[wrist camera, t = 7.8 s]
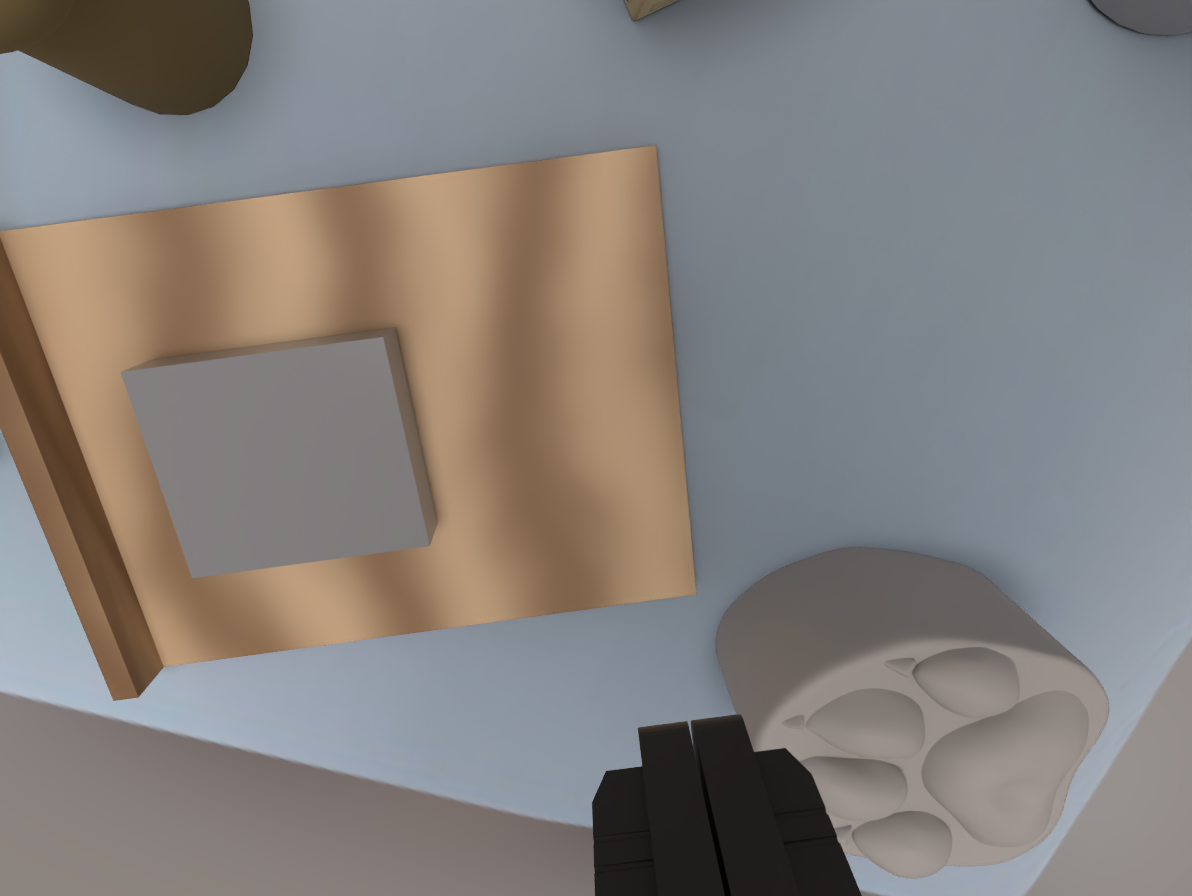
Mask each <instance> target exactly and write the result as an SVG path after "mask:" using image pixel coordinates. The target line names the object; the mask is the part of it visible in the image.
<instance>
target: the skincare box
mask: <svg viewBox="0 0 1192 896" xmlns="http://www.w3.org/2000/svg"><path fill="white" fill-rule="evenodd" d="M624 1H625V4H626V6H627V9H628V11H629V13H630V16H631V17H632V19H633V20H638V19H640V18H642V17H644V16H646V15H648V14H650V13H652V12H655V11H657V10H659V9H661V8H663V7H665V6H667V5H670V4H672V3H674V2H676V1H678V0H624Z"/></svg>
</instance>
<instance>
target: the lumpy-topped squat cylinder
mask: <svg viewBox="0 0 1192 896" xmlns="http://www.w3.org/2000/svg"><path fill="white" fill-rule="evenodd" d="M716 655H717V659H718V662H719V665H720V668H721V671H722V674H723V676H724V679H725V682H726V685H727V688H728V691H729V694H730V696H731V699H732V702H733V705H734V708H735V711H736V714H737V715H738V714H741V715H742V717H743V720H744V723H745V726H746V729H747V732H748V735H749V738H750V741H751V744H752V747H753V750H754V752H757V751H765V750H773V749H781V748H786V749H787V750H788V751H789V752H790V753H791V754H792V755H793V756H794V757H795V758H796V759H797V760H798V761H799V762H800V763H801V764H802V765H803V766H804V767H805V768H806V769H807V770H808V771H809V772H810V773H811V774H812V776H813V778H814V781H815V783H816V785H817V788H818V790H819V793H820V795H821V798H822V800H823V803H824V805H825V808H826V813H827V814H828V815H829V817H830V820H831V822H832V825H833V827H834V829H835V832H836V834H837V839H838V842H839V843H840V844H841V847H842V849H843V851H844V853H846V854H851V855H855V856H861V857H866V858H868V859H869V860H871V861H872V862H873V863H875V864H876V865H878V866H879V867H881V868H882V869H884V870H886V871H887V872H889V873H891V874H893V875H896V876H899V877H903V878H912V879H914V878H922V877H926V876H930V875H932V874H935V873H936V872H938V871H940V870H941V869H942V868H943V867H944V866H984V865H994V864H999V863H1003V862H1006V861H1008V860H1011V859H1013V858H1015V857H1017V856H1019V855H1021V854H1024V853H1026V852H1027V851H1029V850H1030V849H1032V848H1034V847H1035V846H1037V845H1038V844H1039V843H1041V842H1042V841H1043V840H1044V839H1045V838H1046V837H1047V836H1048V835H1049V834H1050V833H1051V832H1052V830H1053V829H1054V827H1055V826H1056V824H1057V822H1058V820H1059V818H1060V816H1061V814H1062V811H1063V808H1064V804H1065V800H1066V797H1067V793H1068V789H1069V786H1070V784H1071V781H1072V779H1073V777H1074V775H1075V773H1076V771H1077V769H1078V767H1079V766H1080V764H1081V762H1082V761H1083V760H1084V758H1085V757H1086V755H1087V754H1088V753H1089V751H1090V750H1091V748H1092V747H1093V746H1094V744H1095V743H1096V741H1097V740H1098V738H1099V736H1100V735H1101V733H1102V731H1103V729H1104V727H1105V725H1106V722H1107V719H1108V714H1109V702H1108V697H1107V695H1106V692H1105V690H1104V688H1103V686H1102V685H1101V683H1100V682H1099V680H1098V679H1097V678H1096V676H1095V675H1094V674H1093V673H1092V672H1091V671H1090V670H1089V669H1088V668H1087V667H1086V666H1085V665H1084V664H1083V663H1082V662H1081V661H1080V660H1079V659H1077V658H1076V657H1075V656H1074V655H1073V654H1072V653H1071V652H1069V651H1068V650H1067V649H1066V648H1065V647H1064V646H1063V645H1061V644H1060V643H1059V642H1058V641H1057V640H1056V639H1055V638H1054V637H1053V636H1051V635H1050V634H1049V633H1048V632H1047V631H1046V630H1045V629H1044V628H1042V627H1041V626H1040V625H1039V624H1038V623H1037V622H1036V621H1034V620H1033V619H1032V618H1031V617H1030V616H1029V615H1028V614H1027V613H1025V612H1024V611H1023V610H1022V609H1021V608H1020V607H1019V606H1018V605H1016V604H1015V603H1014V602H1013V601H1012V600H1011V599H1010V598H1009V597H1007V596H1006V595H1005V594H1004V593H1003V592H1002V591H1001V590H999V589H998V588H997V587H996V586H995V585H994V584H993V583H992V582H990V581H989V580H988V579H987V578H986V577H985V576H984V575H982V574H981V573H979V572H978V571H976V570H974V569H972V568H970V567H967V566H965V565H962V564H958V563H955V562H951V561H947V560H942V559H938V558H934V557H930V556H926V555H921V554H916V553H910V552H904V551H896V550H887V549H877V548H841V549H836V550H832V551H828V552H825V553H821V554H818V555H815V556H812V557H809V558H806V559H803V560H801V561H798V562H795V563H793V564H790V565H788V566H785V567H783V568H781V569H778V570H776V571H774V572H772V573H771V574H769V575H767V576H766V577H764V578H763V579H761V580H760V581H758V582H757V583H756V584H754V585H753V586H752V587H750V588H749V589H748V590H747V591H745V592H744V593H743V594H742V595H741V596H740V597H739V598H738V599H737V600H736V601H735V602H734V603H733V604H732V605H731V606H730V607H729V608H728V610H727V611H726V613H725V614H724V616H723V618H722V620H721V622H720V624H719V627H718V630H717V635H716Z"/></svg>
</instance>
